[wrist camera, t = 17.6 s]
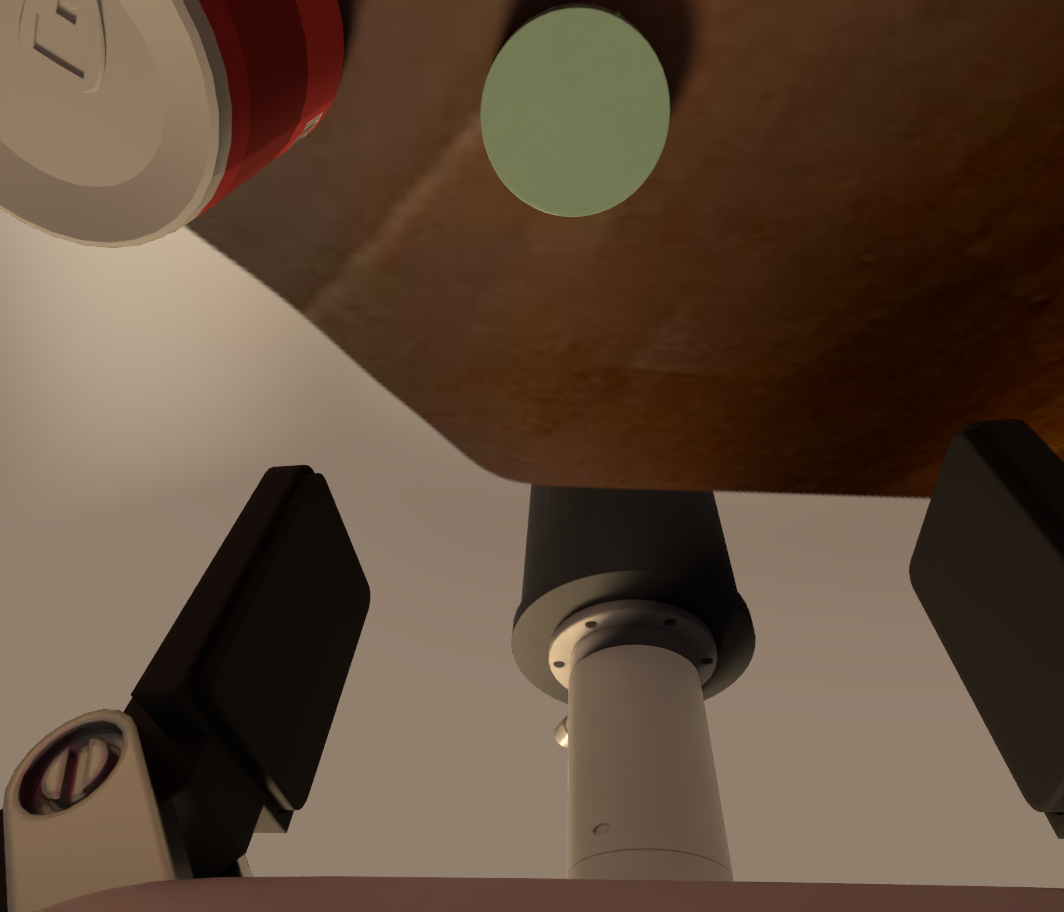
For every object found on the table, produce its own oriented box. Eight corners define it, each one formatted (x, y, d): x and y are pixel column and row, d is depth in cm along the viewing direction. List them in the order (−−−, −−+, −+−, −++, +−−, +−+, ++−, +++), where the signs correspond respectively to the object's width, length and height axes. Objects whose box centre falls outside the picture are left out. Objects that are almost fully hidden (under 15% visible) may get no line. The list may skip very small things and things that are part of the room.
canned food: (367, -70, 21) (225, -74, 12) (336, 174, 26) (218, 292, 17) (121, -171, 20) (-225, -252, 11) (136, 105, 25) (-97, 195, 16)
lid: (527, -39, 21) (524, -37, 20) (702, 54, 23) (709, 62, 21) (461, 160, 25) (454, 172, 24) (613, 229, 27) (614, 244, 25)
